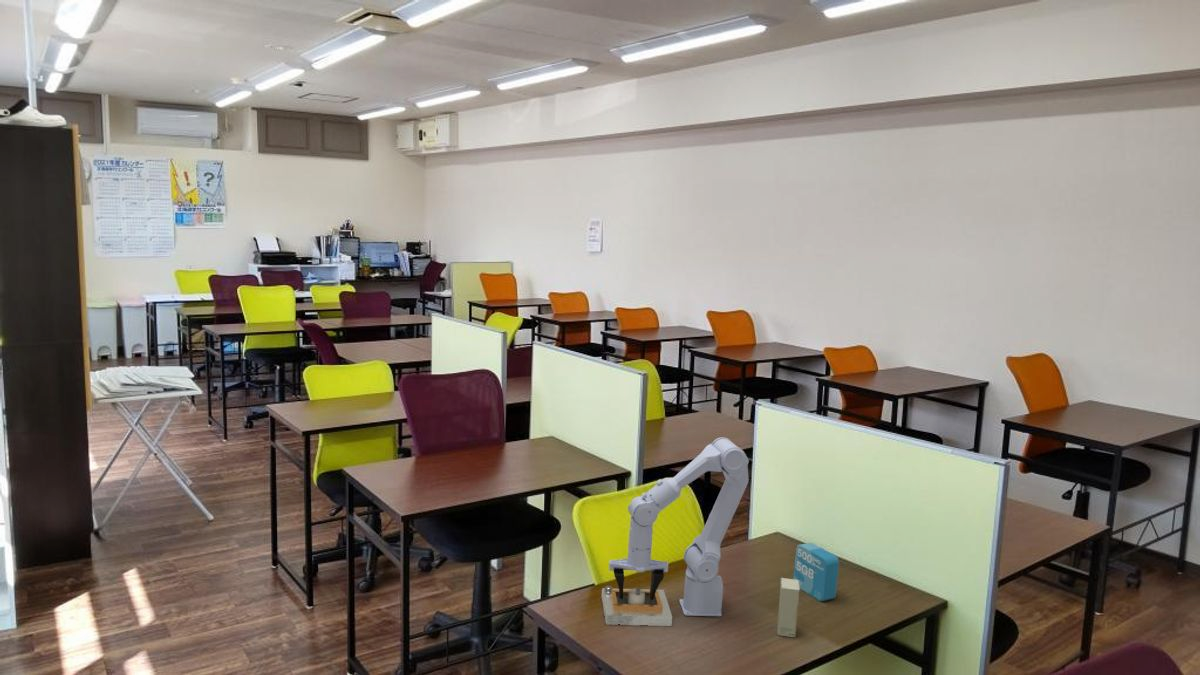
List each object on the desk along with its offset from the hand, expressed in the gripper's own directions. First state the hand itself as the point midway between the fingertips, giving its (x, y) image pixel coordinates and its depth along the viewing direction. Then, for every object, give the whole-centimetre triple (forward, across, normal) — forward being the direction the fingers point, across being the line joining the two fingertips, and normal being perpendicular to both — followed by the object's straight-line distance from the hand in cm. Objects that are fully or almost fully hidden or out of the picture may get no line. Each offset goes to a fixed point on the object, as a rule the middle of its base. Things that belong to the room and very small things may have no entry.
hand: (636, 597), depth 201 cm
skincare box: (+4, +36, -8) cm, 37 cm away
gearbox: (+4, 0, 0) cm, 4 cm away
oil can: (+3, 0, 0) cm, 4 cm away
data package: (+4, +50, +13) cm, 52 cm away
